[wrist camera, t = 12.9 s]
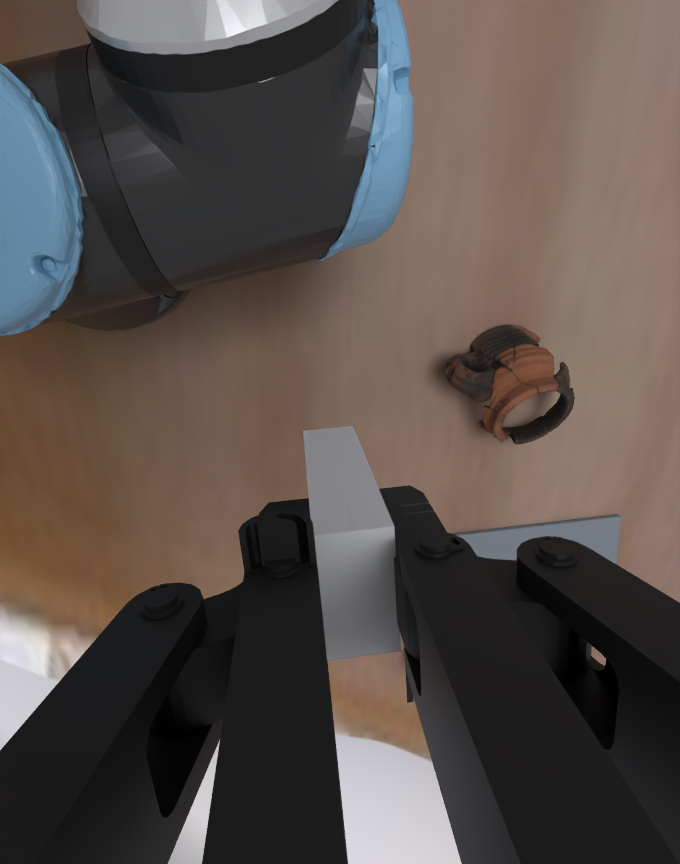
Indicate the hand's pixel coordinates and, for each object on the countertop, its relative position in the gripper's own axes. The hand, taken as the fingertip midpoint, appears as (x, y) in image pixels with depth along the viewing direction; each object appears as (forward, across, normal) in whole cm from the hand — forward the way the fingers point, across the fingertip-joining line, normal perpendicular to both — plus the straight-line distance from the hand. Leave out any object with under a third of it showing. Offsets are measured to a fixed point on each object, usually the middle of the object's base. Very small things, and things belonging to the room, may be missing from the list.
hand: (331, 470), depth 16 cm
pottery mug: (+33, +17, -5) cm, 37 cm away
